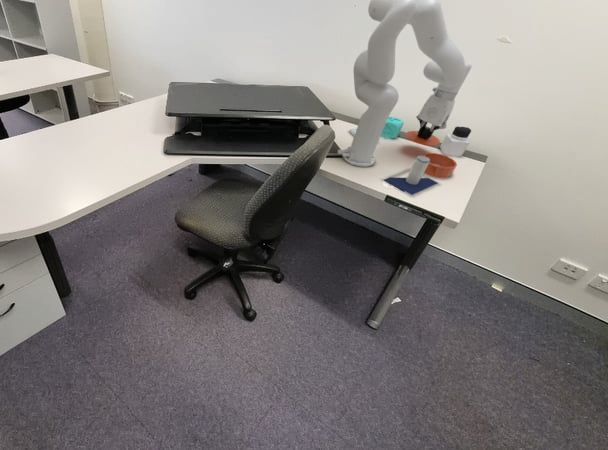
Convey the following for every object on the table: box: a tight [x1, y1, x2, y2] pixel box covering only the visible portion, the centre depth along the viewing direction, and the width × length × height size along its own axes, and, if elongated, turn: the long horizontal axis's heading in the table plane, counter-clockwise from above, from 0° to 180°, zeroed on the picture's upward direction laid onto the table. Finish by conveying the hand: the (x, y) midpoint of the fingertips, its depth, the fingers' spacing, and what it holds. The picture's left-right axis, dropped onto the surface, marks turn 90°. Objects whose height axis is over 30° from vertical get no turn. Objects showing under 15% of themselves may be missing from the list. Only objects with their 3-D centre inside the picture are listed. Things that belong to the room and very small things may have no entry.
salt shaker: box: [405, 155, 430, 185], centre depth 126 cm, size 5×5×10 cm
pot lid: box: [405, 126, 441, 147], centre depth 142 cm, size 13×13×6 cm
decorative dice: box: [380, 116, 404, 140], centre depth 158 cm, size 8×8×8 cm
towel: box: [384, 176, 439, 196], centre depth 129 cm, size 17×12×1 cm
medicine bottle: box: [439, 125, 472, 157], centre depth 145 cm, size 7×7×12 cm
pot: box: [422, 152, 458, 179], centre depth 135 cm, size 12×12×5 cm
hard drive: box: [349, 128, 357, 137], centre depth 158 cm, size 2×8×12 cm
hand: (423, 136), depth 143 cm, fingers closed on pot lid, 2 cm apart
